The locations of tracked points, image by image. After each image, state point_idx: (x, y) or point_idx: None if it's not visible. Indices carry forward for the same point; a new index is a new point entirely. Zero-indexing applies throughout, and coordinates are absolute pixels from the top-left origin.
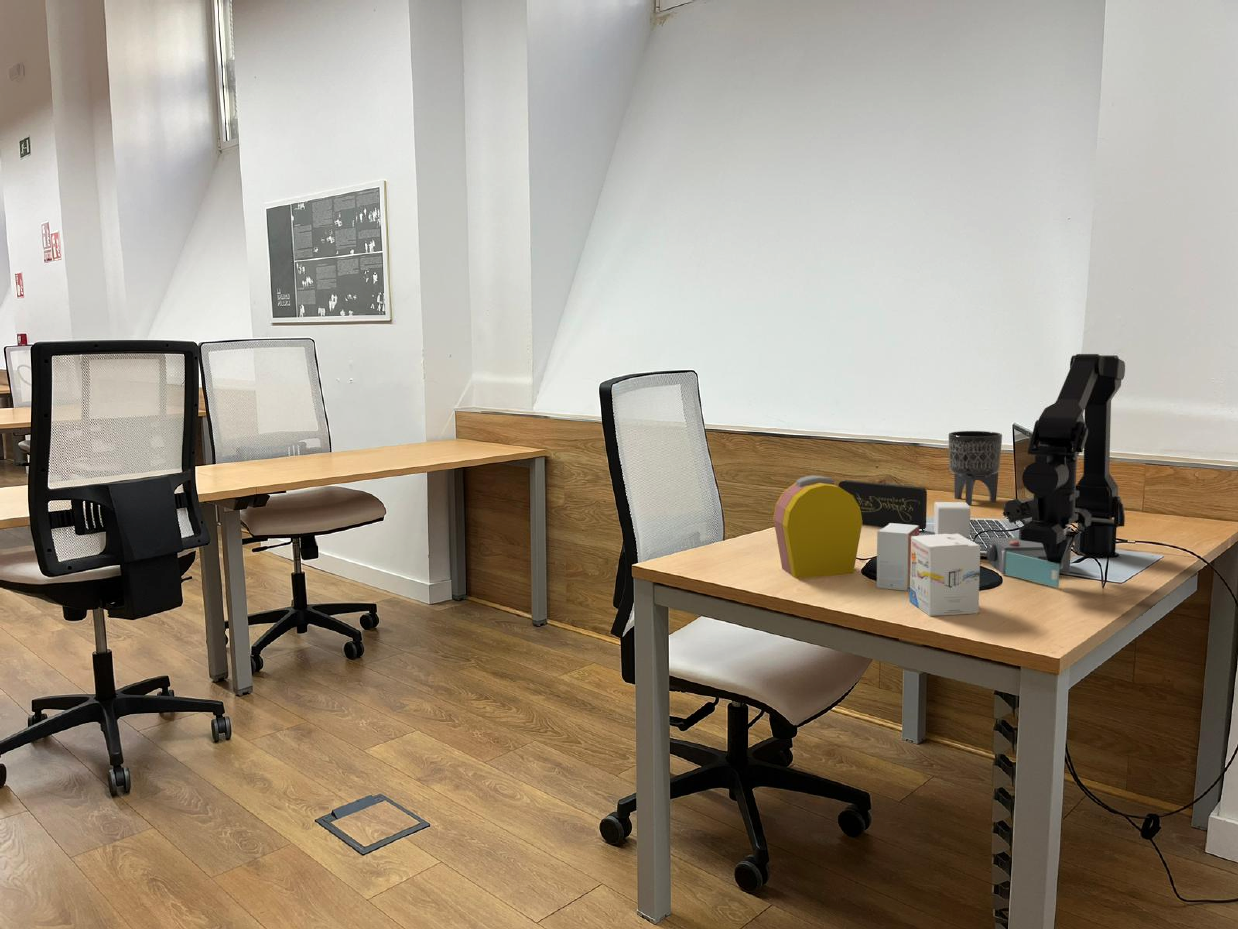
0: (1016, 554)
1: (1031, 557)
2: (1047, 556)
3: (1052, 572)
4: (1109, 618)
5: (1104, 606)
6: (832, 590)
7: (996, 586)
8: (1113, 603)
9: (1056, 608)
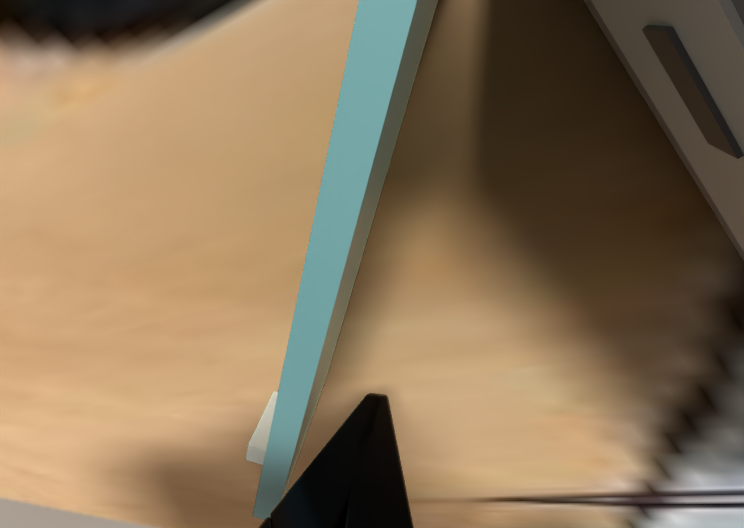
0: (334, 134)
1: (317, 337)
2: (285, 503)
3: (255, 433)
4: (120, 517)
5: (222, 507)
6: None
7: (70, 45)
8: None
9: (54, 406)
